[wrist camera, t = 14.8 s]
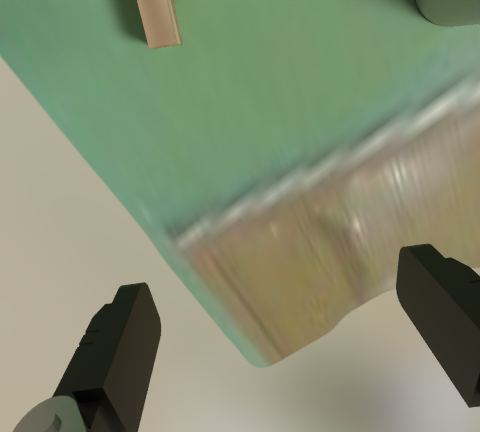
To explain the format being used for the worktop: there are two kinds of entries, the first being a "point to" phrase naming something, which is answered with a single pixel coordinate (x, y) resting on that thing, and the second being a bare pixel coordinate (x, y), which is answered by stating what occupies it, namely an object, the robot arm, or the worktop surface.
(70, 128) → the worktop surface
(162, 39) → the wooden pusher
